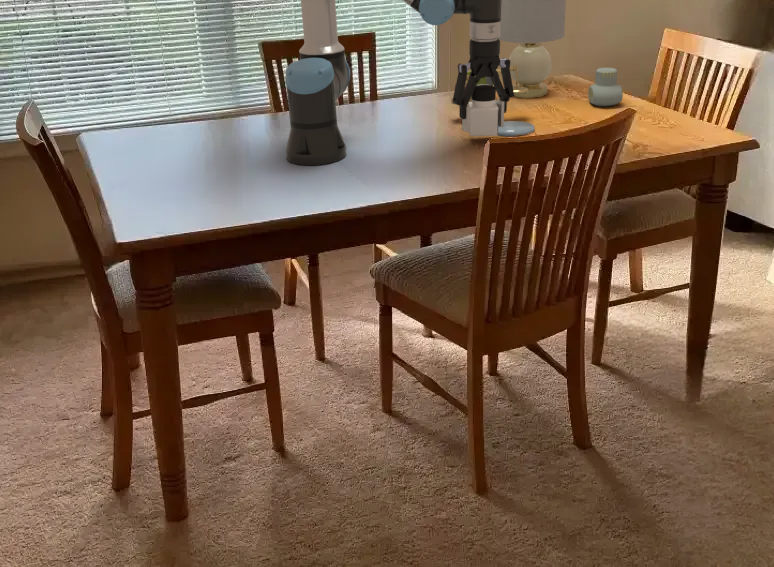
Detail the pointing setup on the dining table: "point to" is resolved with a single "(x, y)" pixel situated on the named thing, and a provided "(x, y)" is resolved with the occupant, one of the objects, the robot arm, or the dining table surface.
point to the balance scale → (515, 88)
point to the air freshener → (605, 88)
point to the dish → (515, 128)
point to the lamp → (531, 39)
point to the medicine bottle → (483, 111)
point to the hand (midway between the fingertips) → (482, 128)
